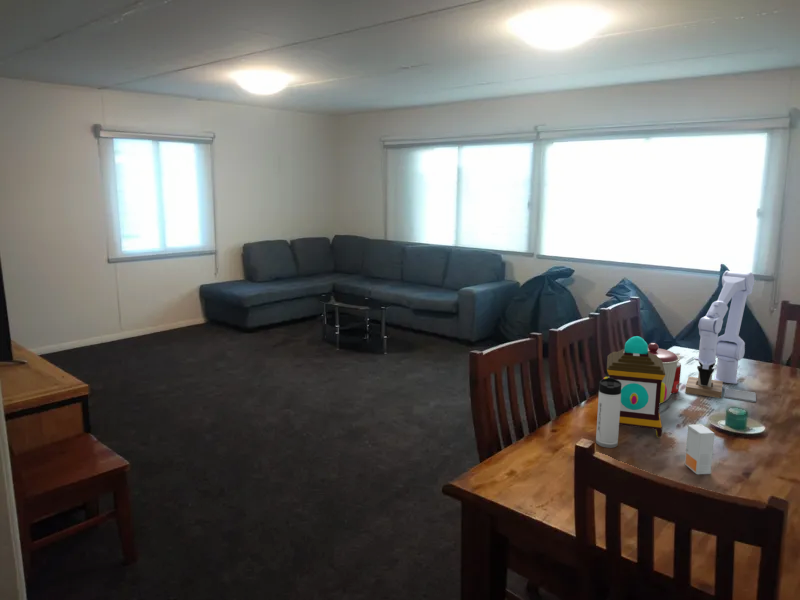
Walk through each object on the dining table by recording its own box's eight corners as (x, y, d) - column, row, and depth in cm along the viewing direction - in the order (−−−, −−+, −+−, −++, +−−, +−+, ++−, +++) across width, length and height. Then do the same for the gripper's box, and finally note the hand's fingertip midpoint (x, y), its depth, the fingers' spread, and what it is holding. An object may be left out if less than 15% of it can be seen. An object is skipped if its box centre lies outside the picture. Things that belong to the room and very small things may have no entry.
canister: (669, 411, 201) (674, 352, 198) (616, 400, 212) (620, 344, 208) (681, 396, 216) (686, 341, 212) (631, 387, 226) (634, 334, 222)
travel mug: (617, 440, 178) (621, 378, 174) (617, 449, 172) (622, 385, 168) (595, 437, 180) (599, 376, 176) (595, 446, 174) (599, 383, 170)
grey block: (697, 387, 226) (699, 370, 224) (710, 389, 223) (712, 371, 222) (697, 390, 222) (698, 373, 220) (710, 392, 219) (712, 375, 218)
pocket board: (688, 382, 231) (688, 376, 231) (722, 387, 225) (722, 381, 225) (685, 392, 219) (685, 386, 219) (721, 398, 214) (721, 391, 213)
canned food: (674, 387, 226) (676, 359, 224) (682, 394, 218) (684, 366, 216) (654, 386, 227) (656, 359, 225) (661, 393, 219) (663, 365, 217)
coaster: (725, 389, 222) (725, 388, 222) (755, 394, 217) (755, 392, 217) (724, 397, 214) (724, 396, 214) (755, 402, 209) (756, 400, 209)
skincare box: (683, 464, 162) (687, 424, 160) (698, 463, 163) (702, 423, 160) (696, 475, 156) (700, 433, 154) (711, 474, 157) (715, 432, 154)
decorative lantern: (597, 432, 185) (603, 341, 179) (599, 410, 203) (604, 327, 197) (666, 440, 178) (674, 346, 172) (661, 417, 196) (668, 331, 190)
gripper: (697, 342, 228) (694, 375, 230) (694, 351, 215) (691, 386, 218) (717, 344, 224) (714, 378, 227) (716, 353, 212) (712, 389, 214)
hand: (704, 382), depth 222 cm, fingers open, 6 cm apart
